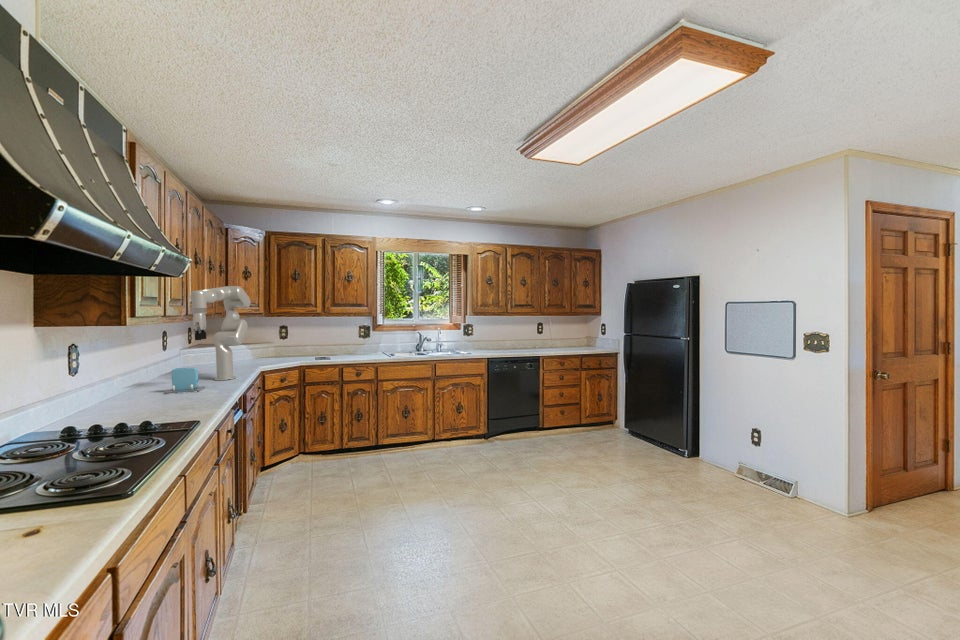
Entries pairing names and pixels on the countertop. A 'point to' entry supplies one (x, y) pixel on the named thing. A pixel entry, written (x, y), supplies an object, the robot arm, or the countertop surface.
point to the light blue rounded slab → (185, 378)
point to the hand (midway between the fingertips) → (200, 339)
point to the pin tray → (185, 390)
